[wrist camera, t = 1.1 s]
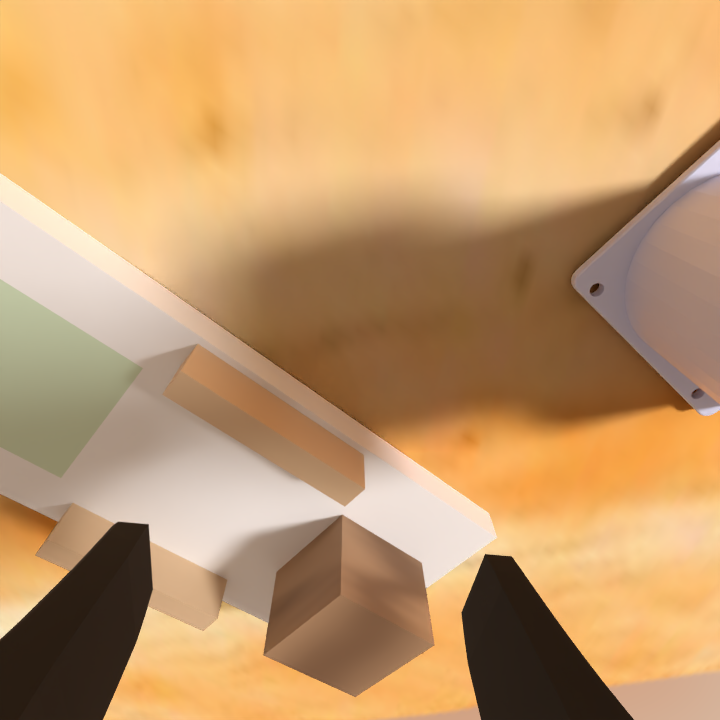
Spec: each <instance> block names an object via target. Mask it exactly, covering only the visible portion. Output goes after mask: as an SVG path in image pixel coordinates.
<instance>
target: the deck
mask: <svg viewBox="0 0 720 720" xmlns="http://www.w3.org/2000/svg"><path fill="white" fill-rule="evenodd" d="M0 494H1V495H3V496H6V497H8V498H10V499H12V500H14V501H16V502H18V503H20V504H22V505H24V506H26V507H28V508H30V509H33V510H35V511H37V512H39V513H41V514H43V515H45V516H47V517H49V518H51V519H53V520H55V521H58V523H57V524H56V526H55V527H54V529H53V530H52V532H51V533H50V534H49V536H48V537H47V539H46V540H45V542H44V543H43V545H42V546H41V547H40V549H39V550H38V552H37V553H36V556H38V557H40V558H42V559H45V560H47V561H49V562H51V563H53V564H56V565H58V566H60V567H62V568H64V569H67V570H69V571H71V570H72V569H73V568H74V567H75V566H76V564H77V563H78V562H79V561H80V560H81V559H82V558H83V557H84V556H85V555H86V554H87V553H88V552H89V551H90V550H91V549H92V547H93V546H94V545H95V544H96V543H97V542H98V541H99V540H100V539H101V538H102V537H103V535H104V534H105V533H106V532H107V531H108V530H109V529H110V528H111V527H112V526H113V525H114V524H115V523H117V522H129V523H140V524H149V536H150V551H151V566H152V581H153V591H152V594H151V598H150V601H149V604H148V606H149V607H151V608H153V609H155V610H158V611H160V612H162V613H164V614H167V615H169V616H171V617H173V618H175V619H178V620H180V621H182V622H184V623H187V624H189V625H191V626H193V627H195V628H198V629H200V630H202V631H204V630H205V629H206V628H207V627H208V626H210V625H211V624H212V623H213V622H214V621H215V620H216V619H218V615H219V611H220V607H221V603H222V601H224V602H226V603H228V604H230V605H232V606H234V607H236V608H238V609H240V610H242V611H245V612H247V613H249V614H251V615H253V616H255V617H257V618H259V619H261V620H263V621H265V622H267V623H269V616H270V610H271V603H272V597H273V591H274V584H275V578H276V572H277V571H278V570H279V569H280V568H282V567H283V566H284V565H285V564H286V563H287V562H288V561H290V560H291V559H292V558H293V557H294V556H295V555H296V554H298V553H299V552H300V551H301V550H302V549H303V548H304V547H306V546H307V545H308V544H309V543H310V542H311V541H313V540H314V539H315V538H316V537H317V536H318V535H319V534H321V533H322V532H323V531H324V530H325V529H326V528H327V527H329V526H330V525H331V524H332V523H333V522H334V521H335V520H337V519H338V518H339V517H340V516H341V515H344V516H346V517H347V518H349V519H351V520H352V521H354V522H356V523H357V524H359V525H360V526H362V527H364V528H365V529H367V530H369V531H370V532H372V533H374V534H375V535H377V536H379V537H380V538H382V539H384V540H385V541H387V542H388V543H390V544H392V545H393V546H395V547H397V548H398V549H400V550H402V551H403V552H405V553H407V554H408V555H410V556H412V557H413V558H415V559H417V560H418V561H420V562H421V563H422V567H423V574H424V580H425V587H426V588H427V587H429V586H430V585H432V584H433V583H434V582H436V581H437V580H439V579H440V578H441V577H443V576H444V575H446V574H447V573H448V572H450V571H451V570H452V569H454V568H455V567H457V566H458V565H459V564H461V563H462V562H464V561H465V560H466V559H468V558H469V557H471V556H472V555H473V554H475V553H476V552H477V551H479V550H480V549H482V548H483V547H484V546H486V545H487V544H489V543H490V542H491V541H493V540H494V539H496V538H497V536H496V533H495V530H494V527H493V524H492V521H491V518H490V515H489V513H488V512H486V511H485V510H484V509H482V508H481V507H479V506H478V505H476V504H475V503H473V502H472V501H471V500H469V499H468V498H466V497H465V496H463V495H462V494H461V493H459V492H458V491H456V490H455V489H453V488H452V487H451V486H449V485H448V484H446V483H445V482H443V481H442V480H440V479H439V478H438V477H436V476H435V475H433V474H432V473H430V472H429V471H428V470H426V469H425V468H423V467H422V466H420V465H419V464H417V463H416V462H415V461H413V460H412V459H410V458H409V457H407V456H406V455H405V454H403V453H402V452H400V451H399V450H397V449H396V448H394V447H393V446H392V445H390V444H389V443H387V442H386V441H384V440H383V439H382V438H380V437H379V436H377V435H376V434H374V433H373V432H371V431H370V430H369V429H367V428H366V427H364V426H363V425H361V424H360V423H359V422H357V421H356V420H354V419H353V418H351V417H350V416H348V415H347V414H346V413H344V412H343V411H341V410H340V409H338V408H337V407H336V406H334V405H333V404H331V403H330V402H328V401H327V400H326V399H324V398H323V397H321V396H320V395H318V394H317V393H315V392H314V391H313V390H311V389H310V388H308V387H307V386H305V385H304V384H303V383H301V382H300V381H298V380H297V379H295V378H294V377H292V376H291V375H290V374H288V373H287V372H285V371H284V370H282V369H281V368H280V367H278V366H277V365H275V364H274V363H272V362H271V361H269V360H268V359H267V358H265V357H264V356H262V355H261V354H259V353H258V352H257V351H255V350H254V349H252V348H251V347H249V346H248V345H246V344H245V343H244V342H242V341H241V340H239V339H238V338H236V337H235V336H234V335H232V334H231V333H229V332H228V331H226V330H225V329H223V328H222V327H221V326H219V325H218V324H216V323H215V322H213V321H212V320H211V319H209V318H208V317H206V316H205V315H203V314H202V313H201V312H199V311H198V310H196V309H195V308H193V307H192V306H190V305H189V304H188V303H186V302H185V301H183V300H182V299H180V298H179V297H178V296H176V295H175V294H173V293H172V292H170V291H169V290H167V289H166V288H165V287H163V286H162V285H160V284H159V283H157V282H156V281H155V280H153V279H152V278H150V277H149V276H147V275H146V274H144V273H143V272H142V271H140V270H139V269H137V268H136V267H134V266H133V265H132V264H130V263H129V262H127V261H126V260H124V259H123V258H121V257H120V256H119V255H117V254H116V253H114V252H113V251H111V250H110V249H109V248H107V247H106V246H104V245H103V244H101V243H100V242H98V241H97V240H96V239H94V238H93V237H91V236H90V235H88V234H87V233H86V232H84V231H83V230H81V229H80V228H78V227H77V226H76V225H74V224H73V223H71V222H70V221H68V220H67V219H65V218H64V217H63V216H61V215H60V214H58V213H57V212H55V211H54V210H53V209H51V208H50V207H48V206H47V205H45V204H44V203H42V202H41V201H40V200H38V199H37V198H35V197H34V196H32V195H31V194H30V193H28V192H27V191H25V190H24V189H22V188H21V187H19V186H18V185H17V184H15V183H14V182H12V181H11V180H9V179H8V178H7V177H5V176H4V175H2V174H1V173H0Z"/></svg>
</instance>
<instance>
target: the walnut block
mask: <svg viewBox="0 0 720 720" xmlns="http://www.w3.org/2000/svg"><path fill="white" fill-rule="evenodd" d="M432 646H434V639H433V632H432V626H431V619H430V613H429V606H428V600H427V593H426V587H425V580H424V574H423V567H422V563H421V562H420V561H418V560H417V559H415V558H413V557H412V556H410V555H408V554H407V553H405V552H403V551H402V550H400V549H398V548H397V547H395V546H393V545H392V544H390V543H388V542H387V541H385V540H384V539H382V538H380V537H379V536H377V535H375V534H374V533H372V532H370V531H369V530H367V529H365V528H364V527H362V526H360V525H359V524H357V523H356V522H354V521H352V520H351V519H349V518H347V517H346V516H344V515H341V516H340V517H339V518H338V519H337V520H335V521H334V522H333V523H332V524H331V525H330V526H329V527H327V528H326V529H325V530H324V531H323V532H322V533H321V534H319V535H318V536H317V537H316V538H315V539H314V540H313V541H311V542H310V543H309V544H308V545H307V546H306V547H304V548H303V549H302V550H301V551H300V552H299V553H298V554H296V555H295V556H294V557H293V558H292V559H291V560H290V561H288V562H287V563H286V564H285V565H284V566H283V567H282V568H280V569H279V570H278V571H277V572H276V578H275V584H274V591H273V597H272V603H271V610H270V616H269V623H268V629H267V635H266V642H265V648H264V654H263V655H264V656H266V657H268V658H270V659H273V660H275V661H277V662H279V663H281V664H284V665H286V666H288V667H290V668H292V669H295V670H297V671H299V672H301V673H304V674H306V675H308V676H310V677H312V678H315V679H317V680H319V681H321V682H323V683H326V684H328V685H330V686H332V687H334V688H337V689H339V690H341V691H343V692H345V693H348V694H350V695H352V696H354V697H356V696H357V695H359V694H360V693H362V692H363V691H365V690H367V689H368V688H370V687H371V686H373V685H374V684H376V683H377V682H379V681H380V680H382V679H383V678H385V677H386V676H388V675H389V674H391V673H392V672H394V671H396V670H397V669H399V668H400V667H402V666H403V665H405V664H406V663H408V662H409V661H411V660H412V659H414V658H415V657H417V656H418V655H420V654H421V653H423V652H425V651H426V650H428V649H429V648H431V647H432Z"/></svg>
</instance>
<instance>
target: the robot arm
mask: <svg viewBox="0 0 720 720" xmlns="http://www.w3.org/2000/svg"><path fill="white" fill-rule="evenodd" d="M596 283H599V288H598V289H597V291H595V292H593V293H590V288H591V287H592V285H594V284H596ZM571 284H572V286H573V288H574V289H575V290H576V291H577V292H578V293H579V294H580V295H581V296H582V297H583V298H584V299H585V300H586V301H587V302H588V303H589V304H590V305H591V306H592V307H593V308H594V309H595V310H596V311H597V312H598V313H599V314H600V315H601V316H602V317H603V318H604V319H605V320H606V321H607V322H608V323H609V324H610V325H611V326H612V327H613V328H614V329H615V330H616V331H617V332H618V333H619V334H620V335H621V336H622V337H623V338H624V339H625V340H626V341H627V342H628V343H629V344H630V345H631V346H632V347H633V348H634V349H635V350H636V351H637V352H638V353H639V354H640V355H641V356H642V357H643V358H644V359H645V360H646V361H647V362H648V363H649V364H650V365H651V366H652V367H653V368H654V369H655V370H656V371H657V372H658V373H659V374H660V375H661V376H662V377H663V378H664V379H665V380H666V381H667V382H668V383H669V384H670V385H671V386H672V387H673V388H674V389H675V390H676V391H677V392H678V393H679V394H680V395H681V396H682V397H683V398H684V399H685V400H686V401H687V402H688V403H689V404H690V405H691V406H692V407H693V408H694V409H695V410H696V411H697V412H698V413H699V414H701V415H703V416H708V415H712V414H714V413H716V412H717V411H719V410H720V140H719V141H718V142H717V143H716V144H715V145H713V146H712V147H711V148H710V149H709V150H708V151H707V152H706V153H705V154H704V155H702V156H701V157H700V158H699V159H698V160H697V161H696V162H695V163H694V164H692V165H691V166H690V167H689V168H688V169H687V170H686V171H685V172H684V173H683V174H681V175H680V176H679V177H678V178H677V179H676V180H675V181H674V182H673V183H672V184H670V185H669V186H668V187H667V188H666V189H665V190H664V191H663V192H662V193H661V194H659V195H658V196H657V197H656V198H655V199H654V200H653V201H652V202H651V203H650V204H648V205H647V206H646V207H645V208H644V209H643V210H642V211H641V212H640V213H639V214H637V215H636V216H635V217H634V218H633V219H632V220H631V221H630V222H629V223H627V224H626V225H625V226H624V227H623V228H622V229H621V230H620V231H619V232H618V233H616V234H615V235H614V236H613V237H612V238H611V239H610V240H609V241H608V242H607V243H605V244H604V245H603V246H602V247H601V248H600V249H599V250H598V251H597V252H596V253H594V254H593V255H592V256H591V257H590V258H589V259H588V260H587V261H586V262H585V263H583V264H582V265H581V266H580V267H579V268H578V269H577V270H576V271H575V272H574V274H573V275H572V278H571ZM696 389H698V390H697V391H696V392H695V393H693V394H692V392H693V391H694V390H696ZM152 591H153V581H152V566H151V551H150V536H149V524H140V523H129V522H117V523H115V524H114V525H113V526H112V527H111V528H110V529H109V530H108V531H107V532H106V533H105V534H104V535H103V537H102V538H101V539H100V540H99V541H98V542H97V543H96V544H95V545H94V546H93V547H92V549H91V550H90V551H89V552H88V553H87V554H86V555H85V556H84V557H83V558H82V559H81V560H80V561H79V562H78V563H77V564H76V566H75V567H74V568H73V569H72V570H71V571H70V572H69V573H68V574H67V575H66V576H65V577H64V578H63V579H62V580H61V581H60V582H59V583H58V584H57V585H56V586H55V587H54V588H53V589H52V590H51V591H50V592H49V593H48V594H47V595H46V596H45V597H44V598H43V599H42V600H41V601H40V602H39V603H38V604H37V605H36V606H35V607H34V608H33V609H32V610H31V611H30V612H29V613H28V614H27V615H26V616H25V617H24V618H23V619H22V620H21V621H20V622H19V623H17V624H16V625H15V626H14V627H13V628H12V629H11V630H10V631H9V632H8V633H7V634H6V635H5V636H3V637H2V638H1V639H0V720H103V718H104V716H105V714H106V711H107V709H108V707H109V704H110V702H111V700H112V698H113V695H114V693H115V691H116V688H117V686H118V684H119V681H120V679H121V677H122V674H123V672H124V670H125V667H126V665H127V663H128V660H129V658H130V656H131V653H132V651H133V649H134V646H135V644H136V641H137V638H138V635H139V632H140V629H141V626H142V623H143V620H144V617H145V614H146V610H147V607H148V604H149V601H150V598H151V594H152ZM462 621H463V629H464V638H465V645H466V652H467V660H468V666H469V670H470V674H471V679H472V683H473V687H474V691H475V696H476V700H477V704H478V708H479V712H480V716H481V720H634V719H633V718H632V717H631V716H630V714H629V713H628V712H627V711H626V710H625V708H624V707H623V706H622V705H621V703H620V702H619V701H618V700H617V698H616V697H615V696H614V695H613V693H612V692H611V691H610V690H609V689H608V687H607V686H606V685H605V684H604V682H603V681H602V680H601V678H600V677H599V676H598V675H597V673H596V672H595V671H594V669H593V668H592V667H591V666H590V664H589V663H588V662H587V660H586V659H585V658H584V656H583V655H582V654H581V652H580V651H579V650H578V648H577V647H576V646H575V644H574V643H573V642H572V640H571V639H570V638H569V636H568V635H567V634H566V632H565V631H564V629H563V628H562V627H561V625H560V624H559V623H558V621H557V620H556V618H555V617H554V616H553V614H552V613H551V611H550V610H549V609H548V607H547V606H546V604H545V603H544V602H543V600H542V599H541V597H540V596H539V594H538V593H537V592H536V590H535V589H534V587H533V586H532V584H531V583H530V582H529V580H528V579H527V577H526V576H525V574H524V573H523V572H522V570H521V569H520V567H519V566H518V565H517V563H516V562H515V560H514V559H513V558H512V557H510V556H499V555H488V554H485V556H484V558H483V561H482V563H481V566H480V568H479V571H478V573H477V576H476V578H475V581H474V583H473V586H472V588H471V591H470V593H469V596H468V598H467V601H466V603H465V606H464V608H463V611H462Z"/></svg>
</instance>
